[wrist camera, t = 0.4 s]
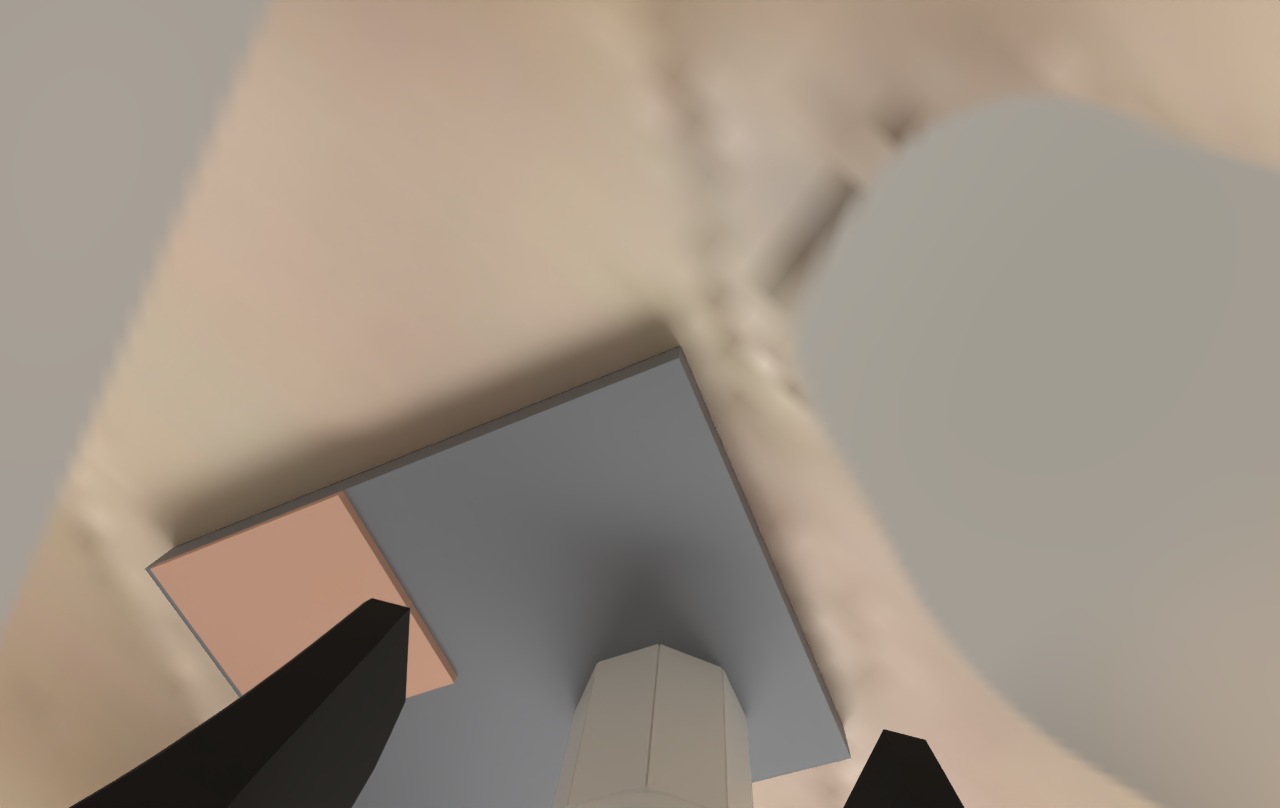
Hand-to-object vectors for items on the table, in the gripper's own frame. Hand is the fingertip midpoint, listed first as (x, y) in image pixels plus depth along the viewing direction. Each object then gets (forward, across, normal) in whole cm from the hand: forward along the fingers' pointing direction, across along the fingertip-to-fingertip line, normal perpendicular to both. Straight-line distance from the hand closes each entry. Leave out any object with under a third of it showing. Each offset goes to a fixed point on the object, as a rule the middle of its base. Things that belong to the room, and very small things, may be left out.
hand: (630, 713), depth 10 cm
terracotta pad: (+8, +10, +9) cm, 15 cm away
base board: (+9, +4, +9) cm, 13 cm away
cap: (+8, -1, +9) cm, 12 cm away
